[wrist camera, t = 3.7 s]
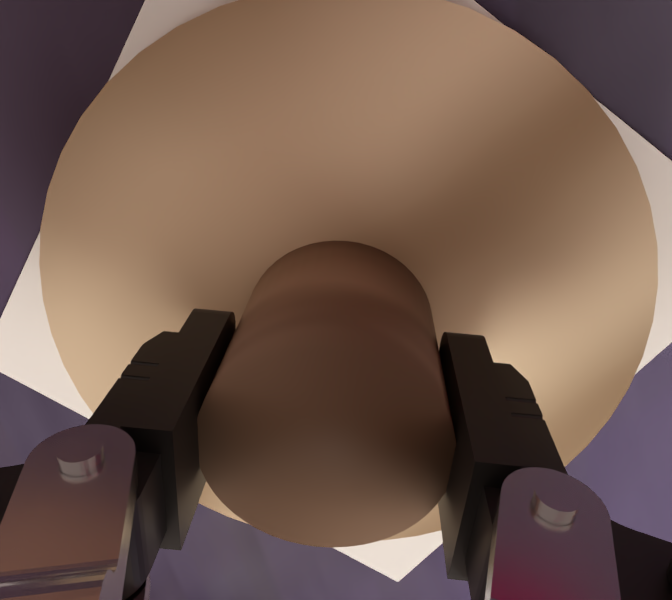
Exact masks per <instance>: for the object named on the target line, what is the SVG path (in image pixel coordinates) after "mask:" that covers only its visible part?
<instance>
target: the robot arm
mask: <svg viewBox="0 0 672 600" xmlns="http://www.w3.org/2000/svg"><path fill="white" fill-rule="evenodd" d="M235 330H236V321H235V315H234V312H230V311H219V310H208V309H197V308H195V309H193V310H192V312H191V313H190V315H189V317H188V318H187V320H186V321H185V323H184V325H183V326H182V328H181V329H180V331H179V332H169V331H163V332H161V333H160V334H158V335H156V336H155V337H153V338H152V339H150V340H148V341H147V342H145V343H144V344H142V346H141V347H140V349H139V350H138V351H137V353H136V354H135V356H134V357H133V358H132V360H131V364H128V365H127V367H126V368H125V370H124V371H123V372H122V374H121V378H118V379H117V381H116V382H115V384H114V385H113V386H112V388H111V389H110V391H109V392H108V393H107V395H106V396H105V398H104V399H103V400H102V402H101V403H100V405H99V406H98V408H97V409H96V410H95V412H94V413H93V415H92V416H91V417H90V419H89V420H88V422H87V423H86V424H85V425H81V426H77V427H72V428H69V429H66V430H63V431H61V432H58V433H56V434H54V435H52V436H50V437H48V438H47V439H45V440H44V441H43V442H41V443H40V444H39V445H38V446H36V447H35V448H34V449H33V450H32V452H31V453H30V454H29V456H28V457H27V459H26V461H25V464H21V465H16V466H10V467H2V468H0V600H149V597H150V570H151V568H152V565H153V563H154V560H155V558H156V556H157V553H158V551H159V548H163V549H173V550H181V549H182V546H183V543H184V541H185V538H186V535H187V532H188V530H189V527H190V524H191V521H192V519H193V516H194V513H195V510H196V508H197V505H198V502H199V499H200V497H201V494H202V491H203V489H204V486H205V483H206V480H205V478H204V475H203V473H202V471H201V469H200V466H199V445H198V424H197V417H198V414H199V411H200V409H201V406H202V404H203V401H204V399H205V397H206V395H207V393H208V390H209V388H210V386H211V384H212V381H213V379H214V377H215V375H216V372H217V370H218V368H219V366H220V364H221V361H222V359H223V357H224V355H225V352H226V350H227V348H228V346H229V344H230V341H231V339H232V337H233V335H234V332H235ZM439 354H440V359H441V364H442V369H443V375H444V380H445V385H446V391H447V396H448V401H449V406H450V412H451V417H452V422H453V427H454V433H455V438H456V447H455V452H454V457H453V461H452V466H451V471H450V476H449V480H448V485H447V490H446V492H445V494H444V495H443V497H442V498H441V500H440V501H439V502H438V508H439V515H440V523H441V531H442V539H443V547H444V555H445V562H446V570H447V578H448V579H455V580H465V581H468V583H469V589H470V595H471V600H672V543H671V542H668V541H665V540H662V539H659V538H656V537H653V536H650V535H647V534H644V533H641V532H638V531H635V530H632V529H630V528H627V527H625V526H622V525H620V524H618V523H616V522H614V521H612V520H610V516H609V513H608V510H607V508H606V506H605V505H604V503H603V502H602V500H601V499H600V498H599V497H598V496H597V495H596V493H595V492H593V491H592V490H591V489H590V488H589V487H588V486H586V485H585V484H583V483H582V482H580V481H579V480H577V479H575V478H573V477H572V476H569V475H568V474H567V472H566V469H565V467H564V465H563V462H562V460H561V458H560V455H559V453H558V450H557V448H556V446H555V443H554V441H553V438H552V436H551V434H550V431H549V429H548V427H547V424H546V422H545V420H543V415H542V412H541V410H540V408H539V405H538V404H537V403H536V398H535V396H534V393H533V391H532V388H531V386H530V384H529V381H528V380H527V379H526V378H525V377H524V376H523V375H521V374H520V373H519V372H518V371H517V370H516V369H515V368H514V367H513V366H512V365H511V364H505V363H495V362H493V360H492V357H491V354H490V351H489V348H488V345H487V342H486V339H485V337H484V336H483V335H473V334H462V333H452V332H444V333H443V335H442V338H441V342H440V347H439Z"/></svg>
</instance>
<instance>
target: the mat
mask: <svg viewBox="0 0 672 600" xmlns="http://www.w3.org/2000/svg"><path fill="white" fill-rule="evenodd" d="M235 1H238V0H145V2H144V4H143V6H142V8H141V10H140V13H139V15H138V17H137V19H136V21H135V24H134V26H133V28H132V30H131V32H130V35H129V37H128V39H127V41H126V43H125V46H124V48H123V50H122V52H121V54H120V57H119V59H118V61H117V63H116V65H115V68H114V70H113V72H112V74H111V76H110V79H109V81H110V80H111V79H112V78H113V77H114V76H115V75H116V74H117V73H118V72H119V71H120V70H121V69H122V68H123V67H124V66H125V65H126V64H127V63H129V62H130V61H131V60H132V59H133V58H134V57H135V56H136V55H137V54H138V53H139V52H141V51H142V50H144V49H145V48H147V47H148V46H149V45H151V44H152V43H154V42H155V41H157V40H158V39H160V38H161V37H163V36H164V35H165V34H167V33H168V32H170V31H171V30H173V29H174V28H176V27H177V26H179V25H181V24H183V23H186V22H188V21H190V20H192V19H194V18H196V17H198V16H200V15H202V14H204V13H206V12H208V11H210V10H213V9H215V8H217V7H219V6H221V5H225V4H228V3H231V2H235ZM445 1H449V2H452V3H455V4H458V5H461V6H464V7H468V8H470V9H472V10H474V11H476V12H478V13H480V14H482V15H484V16H486V17H488V18H490V19H492V20H494V21H497V22H499V23H501V22H500V21H499V20H498V19H496V18H495V17H494V16H493V15H491V14H490V13H489V12H488V11H486V10H485V9H484V8H483V7H482V6H480V5H479V4H478V3H477V2H475V1H474V0H445ZM501 24H502V23H501ZM503 25H504V24H503ZM594 99H595V98H594ZM595 100H596V99H595ZM596 101H597V100H596ZM597 103H598V104H599V105H600V107H601V108H602V109H603V111H604V112H605V113H606V115H607V116H608V117H609V119H610V120H611V121H612V123H613V124H614V125H615V127H616V128H617V130H618V132H619V134H620V135H621V137H622V139H623V141H624V143H625V145H626V147H627V149H628V150H629V152H630V154H631V156H632V158H633V160H634V162H635V164H636V165H637V168H638V171H639V174H640V177H641V180H642V183H643V185H644V188H645V191H646V194H647V197H648V200H649V203H650V206H651V211H652V217H653V223H654V229H655V234H656V240H657V247H658V289H657V296H656V304H655V311H654V318H653V323H652V327H651V330H650V334H649V337H648V341H647V344H646V348H645V351H644V354H643V357H642V360H641V362H640V364H639V366H638V368H637V371H636V373H637V372H638V371H639V370H640V369H642V368H643V367H644V366H645V365H646V364H647V363H648V362H650V361H651V360H652V359H653V358H654V357H655V356H656V355H658V354H659V353H660V352H661V351H662V350H663V349H664V348H666V347H667V346H668V345H669V344H670V343H671V342H672V161H671V160H670V159H669V158H667V157H666V156H665V155H664V154H662V153H661V152H660V151H659V150H657V149H656V148H655V147H654V146H653V145H651V144H650V143H649V142H648V141H646V140H645V139H644V138H643V137H641V136H640V135H639V134H638V133H637V132H635V131H634V130H633V129H632V128H630V127H629V126H628V125H627V124H625V123H624V122H623V121H622V120H621V119H619V118H618V117H617V116H616V115H614V114H613V113H612V112H611V111H609V110H608V109H607V108H606V107H605V106H603V105H602V104H601V103H600V102H598V101H597ZM40 231H41V230H40ZM39 256H40V233H39V235H38V237H37V239H36V241H35V244H34V246H33V248H32V250H31V252H30V255H29V257H28V259H27V261H26V263H25V266H24V268H23V270H22V272H21V274H20V277H19V279H18V281H17V283H16V285H15V288H14V290H13V292H12V294H11V296H10V299H9V301H8V303H7V305H6V307H5V310H4V312H3V314H2V316H1V318H0V372H1V373H3V374H5V375H7V376H9V377H11V378H13V379H15V380H16V381H18V382H20V383H22V384H24V385H26V386H28V387H30V388H32V389H33V390H35V391H37V392H39V393H41V394H43V395H45V396H47V397H49V398H51V399H52V400H54V401H56V402H58V403H60V404H62V405H64V406H66V407H68V408H69V409H71V410H73V411H75V412H77V413H79V414H81V415H83V416H85V417H86V418H88V419H90V417H91V416H92V415H93V413H92V411H91V410H90V409H89V407H88V406H87V404H86V403H85V402H84V400H83V399H82V397H81V396H80V394H79V393H78V391H77V389H76V387H75V385H74V383H73V381H72V380H71V378H70V376H69V374H68V372H67V370H66V369H65V367H64V365H63V362H62V360H61V357H60V355H59V352H58V349H57V347H56V344H55V342H54V339H53V337H52V334H51V331H50V326H49V322H48V318H47V314H46V310H45V306H44V302H43V296H42V286H41V277H40V267H39ZM636 373H635V374H636ZM442 543H443V539H442V531H437V532H432V533H428V534H424V535H419V536H414V537H406V538H399V539H391V540H380V541H377V542H373V543H369V544H364V545H358V546H350V547H333V548H334V549H336V550H338V551H340V552H342V553H344V554H346V555H348V556H350V557H352V558H353V559H355V560H357V561H359V562H361V563H363V564H365V565H367V566H369V567H370V568H372V569H374V570H376V571H378V572H380V573H382V574H384V575H386V576H388V577H389V578H391V579H393V580H395V581H397V582H399V581H400V580H401V579H402V578H403V577H404V576H405V575H406V574H408V573H409V572H410V571H411V570H412V569H413V568H414V567H416V566H417V565H418V564H419V563H420V562H421V561H422V560H424V559H425V558H426V557H427V556H428V555H429V554H430V553H432V552H433V551H434V550H435V549H436V548H437V547H438V546H440V545H441V544H442Z"/></svg>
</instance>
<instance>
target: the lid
mask: <svg viewBox="0 0 672 600" xmlns="http://www.w3.org/2000/svg"><path fill="white" fill-rule="evenodd" d="M39 267H40V277H41V286H42V296H43V302H44V306H45V310H46V314H47V318H48V322H49V326H50V331H51V334H52V337H53V339H54V342H55V344H56V347H57V349H58V352H59V355H60V357H61V360H62V362H63V365H64V367H65V369H66V370H67V372H68V374H69V376H70V378H71V380H72V381H73V383H74V385H75V387H76V389H77V391H78V393H79V394H80V396H81V397H82V399H83V400H84V402H85V403H86V404H87V406H88V407H89V409H90V410H91V411H92V413H94V412H95V410H96V409H97V408H98V406H99V405H100V403H101V402H102V400H103V399H104V398H105V396H106V395H107V393H108V392H109V391H110V389H111V388H112V386H113V385H114V384H115V382H116V381H117V379H118V378H121V374H122V372H123V371H124V370H125V368H126V367H127V365H128V364H131V360H132V358H133V357H134V356H135V354H136V353H137V351H138V350H139V349H140V347H141V346H142V344H144V343H145V342H147V341H148V340H150V339H152V338H153V337H155V336H156V335H158V334H160V333H161V332H163V331H169V332H179V331H180V329H181V328H182V326H183V325H184V323H185V321H186V320H187V318H188V317H189V315H190V313H191V312H192V310H193V309H195V308H197V309H208V310H219V311H230V312H234V315H235V321H236V330H235V332H234V335H233V337H232V339H231V341H230V344H229V346H228V348H227V350H226V352H225V355H224V357H223V359H222V361H221V364H220V366H219V368H218V370H217V372H216V375H215V377H214V379H213V381H212V384H211V386H210V388H209V390H208V393H207V395H206V397H205V399H204V401H203V404H202V406H201V409H200V411H199V414H198V417H197V424H198V445H199V466H200V469H201V471H202V473H203V475H204V478H205V480H206V483H205V486H204V489H203V491H202V494H201V497H200V499H199V502H198V503H199V504H202V505H204V506H206V507H208V508H210V509H212V510H215V511H217V512H219V513H221V514H223V515H225V516H228V517H230V518H233V519H236V520H239V521H242V522H245V523H248V524H250V525H252V526H253V527H255V528H257V529H259V530H261V531H263V532H265V533H267V534H270V535H272V536H275V537H278V538H280V539H283V540H286V541H290V542H294V543H298V544H303V545H310V546H316V547H350V546H358V545H364V544H369V543H373V542H377V541H380V540H391V539H399V538H406V537H414V536H419V535H424V534H428V533H432V532H437V531H441V523H440V515H439V508H438V502H439V501H440V500H441V498H442V497H443V495H444V494H445V492H446V490H447V485H448V480H449V476H450V471H451V466H452V461H453V457H454V452H455V447H456V438H455V433H454V427H453V422H452V417H451V412H450V406H449V401H448V396H447V391H446V385H445V380H444V375H443V369H442V364H441V359H440V354H439V347H440V342H441V338H442V335H443V333H444V332H452V333H462V334H473V335H483V336H484V337H485V339H486V342H487V345H488V348H489V351H490V354H491V357H492V360H493V362H495V363H505V364H511V365H512V366H513V367H514V368H515V369H516V370H517V371H518V372H519V373H520V374H521V375H523V376H524V377H525V378H526V379H527V380H528V381H529V384H530V386H531V388H532V391H533V393H534V396H535V398H536V403H537V404H538V405H539V408H540V410H541V412H542V415H543V420H545V422H546V424H547V427H548V429H549V431H550V434H551V436H552V438H553V441H554V443H555V446H556V448H557V450H558V453H559V455H560V458H561V460H562V462H563V465H564V467H565V466H566V465H567V464H568V463H570V462H571V461H572V460H573V459H574V458H575V457H576V456H577V455H578V454H579V453H580V452H581V451H582V450H583V449H584V448H585V447H586V446H587V445H588V444H589V443H590V442H591V441H592V439H593V438H594V437H595V436H596V435H597V433H598V432H599V431H600V430H601V429H602V427H603V426H604V425H605V424H606V422H607V421H608V420H609V419H610V417H611V416H612V414H613V412H614V411H615V409H616V408H617V406H618V405H619V403H620V401H621V400H622V398H623V397H624V395H625V393H626V392H627V390H628V388H629V386H630V384H631V382H632V380H633V377H634V375H635V373H636V371H637V368H638V366H639V364H640V362H641V360H642V357H643V354H644V351H645V348H646V344H647V341H648V337H649V334H650V330H651V327H652V323H653V318H654V311H655V304H656V296H657V289H658V247H657V240H656V234H655V229H654V223H653V217H652V211H651V206H650V203H649V200H648V197H647V194H646V191H645V188H644V185H643V183H642V180H641V177H640V174H639V171H638V168H637V165H636V164H635V162H634V160H633V158H632V156H631V154H630V152H629V150H628V149H627V147H626V145H625V143H624V141H623V139H622V137H621V135H620V134H619V132H618V130H617V128H616V127H615V125H614V124H613V123H612V121H611V120H610V119H609V117H608V116H607V115H606V113H605V112H604V111H603V109H602V108H601V107H600V105H599V104H598V103H597V101H596V100H595V99H594V98H593V96H592V95H591V94H590V92H589V91H588V90H587V89H586V88H585V87H584V86H583V85H582V84H581V83H580V82H579V81H578V80H577V79H575V78H574V77H573V76H572V75H571V74H570V73H569V72H568V71H567V70H566V69H565V68H564V67H563V66H562V65H561V64H560V63H559V62H558V61H557V60H556V59H555V58H553V57H552V56H550V55H549V54H548V53H546V52H545V51H543V50H542V49H540V48H539V47H538V46H536V45H535V44H533V43H532V42H530V41H529V40H528V39H526V38H525V37H523V36H522V35H520V34H519V33H518V32H516V31H515V30H513V29H511V28H509V27H507V26H505V25H503V24H501V23H499V22H497V21H494V20H492V19H490V18H488V17H486V16H484V15H482V14H480V13H478V12H476V11H474V10H472V9H470V8H468V7H464V6H461V5H458V4H455V3H452V2H449V1H445V0H238V1H235V2H231V3H228V4H225V5H221V6H219V7H217V8H215V9H213V10H210V11H208V12H206V13H204V14H202V15H200V16H198V17H196V18H194V19H192V20H190V21H188V22H186V23H183V24H181V25H179V26H177V27H176V28H174V29H173V30H171V31H170V32H168V33H167V34H165V35H164V36H163V37H161V38H160V39H158V40H157V41H155V42H154V43H152V44H151V45H149V46H148V47H147V48H145V49H144V50H142V51H141V52H139V53H138V54H137V55H136V56H135V57H134V58H133V59H132V60H131V61H130V62H129V63H127V64H126V65H125V66H124V67H123V68H122V69H121V70H120V71H119V72H118V73H117V74H116V75H115V76H114V77H113V78H112V79H111V80H110V81H108V82H107V83H106V85H105V86H104V87H103V89H102V90H101V91H100V92H99V94H98V95H97V96H96V98H95V99H94V100H93V102H92V103H91V104H90V105H89V107H88V108H87V109H86V111H85V112H84V113H83V115H82V116H81V117H80V119H79V121H78V123H77V124H76V126H75V128H74V130H73V132H72V134H71V136H70V137H69V139H68V141H67V143H66V145H65V147H64V148H63V150H62V152H61V154H60V157H59V160H58V163H57V166H56V168H55V171H54V174H53V177H52V180H51V182H50V185H49V188H48V191H47V197H46V202H45V207H44V212H43V218H42V223H41V231H40V256H39Z"/></svg>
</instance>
